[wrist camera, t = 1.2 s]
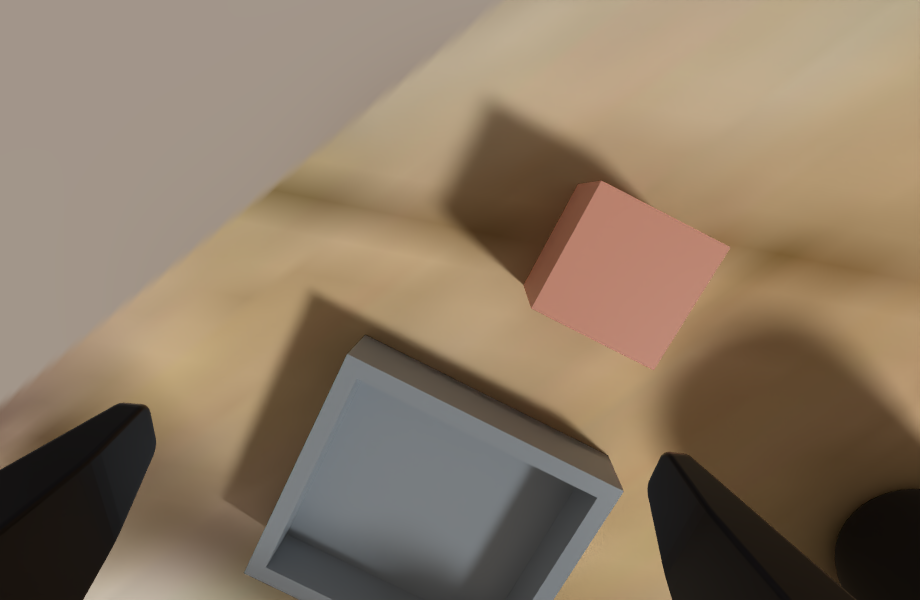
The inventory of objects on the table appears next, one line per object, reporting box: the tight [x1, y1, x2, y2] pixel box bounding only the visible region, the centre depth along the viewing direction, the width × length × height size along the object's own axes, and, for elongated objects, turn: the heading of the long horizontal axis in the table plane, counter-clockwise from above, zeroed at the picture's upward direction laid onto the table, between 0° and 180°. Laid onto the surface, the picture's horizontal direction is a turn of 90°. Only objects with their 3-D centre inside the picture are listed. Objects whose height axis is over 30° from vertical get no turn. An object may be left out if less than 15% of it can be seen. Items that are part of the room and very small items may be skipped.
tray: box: [244, 335, 624, 600], centre depth 24 cm, size 13×12×3 cm
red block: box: [524, 181, 731, 370], centre depth 20 cm, size 5×5×5 cm
